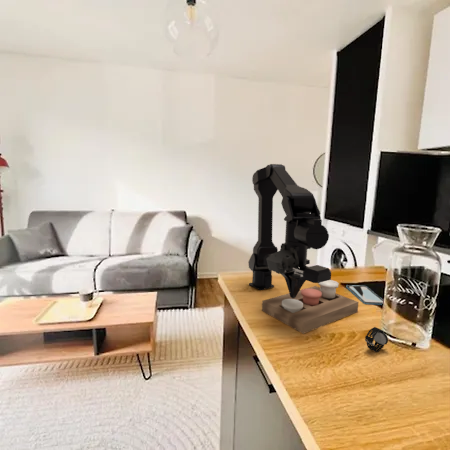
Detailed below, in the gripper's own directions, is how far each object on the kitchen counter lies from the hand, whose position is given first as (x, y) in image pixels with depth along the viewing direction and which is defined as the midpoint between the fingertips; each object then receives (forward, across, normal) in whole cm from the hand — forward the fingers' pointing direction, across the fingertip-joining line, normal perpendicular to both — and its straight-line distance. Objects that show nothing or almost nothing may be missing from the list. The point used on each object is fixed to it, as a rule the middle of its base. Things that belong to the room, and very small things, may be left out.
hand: (292, 297), depth 80 cm
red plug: (+4, 0, +8) cm, 9 cm away
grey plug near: (+6, 0, 0) cm, 6 cm away
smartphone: (+6, +1, +33) cm, 34 cm away
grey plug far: (+3, 0, +15) cm, 15 cm away
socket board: (+6, 0, +8) cm, 9 cm away
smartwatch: (+6, +20, +4) cm, 22 cm away
